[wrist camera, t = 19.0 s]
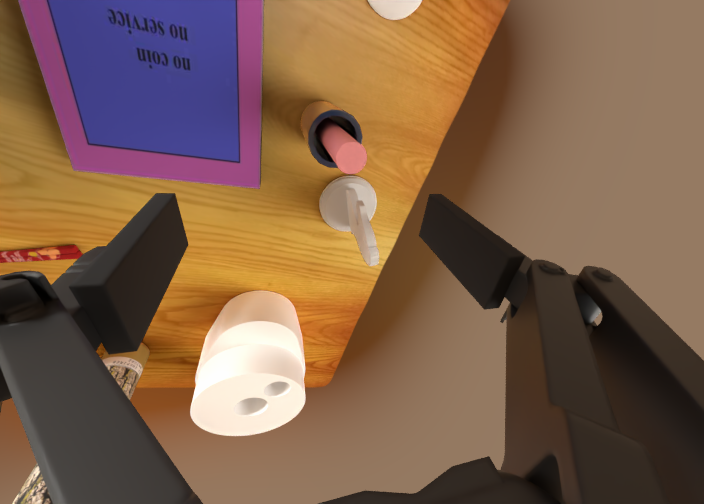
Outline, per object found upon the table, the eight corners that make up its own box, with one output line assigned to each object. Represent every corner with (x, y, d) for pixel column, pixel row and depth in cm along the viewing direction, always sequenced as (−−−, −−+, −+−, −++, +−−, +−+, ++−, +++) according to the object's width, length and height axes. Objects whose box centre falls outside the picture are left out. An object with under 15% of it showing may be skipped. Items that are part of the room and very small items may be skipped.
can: (300, 98, 37) (308, 107, 28) (344, 103, 38) (365, 112, 29) (300, 145, 40) (307, 166, 31) (340, 147, 41) (358, 168, 32)
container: (315, 293, 56) (325, 349, 44) (294, 371, 67) (297, 431, 56) (205, 286, 49) (185, 350, 38) (203, 374, 61) (187, 442, 50)
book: (265, -145, 24) (259, 188, 39) (266, -125, 26) (260, 181, 41) (-79, -296, 18) (73, 170, 33) (-36, -251, 20) (87, 163, 35)
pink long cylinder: (312, 113, 38) (337, 140, 23) (332, 115, 38) (368, 142, 24) (312, 135, 39) (334, 174, 24) (331, 137, 40) (365, 174, 25)
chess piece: (374, 170, 45) (412, 207, 32) (376, 223, 50) (409, 272, 38) (314, 180, 43) (330, 223, 31) (323, 234, 49) (340, 288, 36)
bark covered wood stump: (114, 333, 50) (3, 514, 29) (156, 342, 53) (82, 511, 33) (103, 356, 52) (-8, 540, 32) (144, 364, 55) (67, 534, 35)
